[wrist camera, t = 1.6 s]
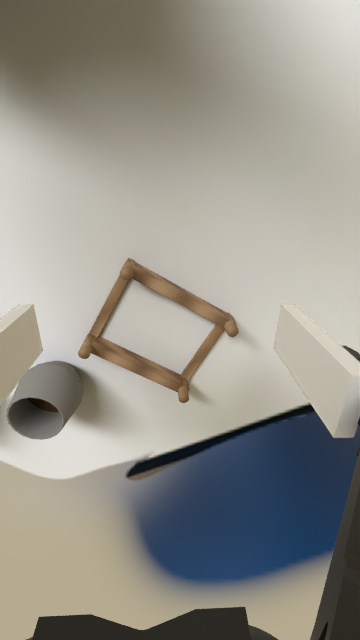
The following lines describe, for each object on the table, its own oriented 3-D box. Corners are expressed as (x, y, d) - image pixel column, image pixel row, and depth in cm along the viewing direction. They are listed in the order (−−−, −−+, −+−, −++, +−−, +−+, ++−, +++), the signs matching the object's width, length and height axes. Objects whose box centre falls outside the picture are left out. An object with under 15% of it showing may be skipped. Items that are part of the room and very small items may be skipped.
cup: (90, 355, 47) (72, 395, 38) (87, 401, 51) (70, 447, 42) (29, 348, 46) (-4, 387, 37) (31, 395, 50) (1, 440, 41)
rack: (85, 339, 46) (76, 355, 41) (128, 257, 41) (123, 265, 36) (183, 384, 50) (185, 404, 46) (233, 315, 45) (240, 329, 41)
